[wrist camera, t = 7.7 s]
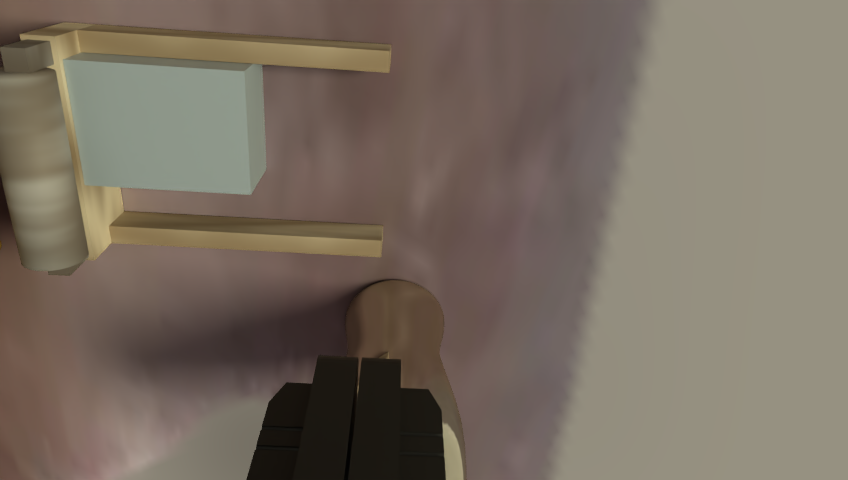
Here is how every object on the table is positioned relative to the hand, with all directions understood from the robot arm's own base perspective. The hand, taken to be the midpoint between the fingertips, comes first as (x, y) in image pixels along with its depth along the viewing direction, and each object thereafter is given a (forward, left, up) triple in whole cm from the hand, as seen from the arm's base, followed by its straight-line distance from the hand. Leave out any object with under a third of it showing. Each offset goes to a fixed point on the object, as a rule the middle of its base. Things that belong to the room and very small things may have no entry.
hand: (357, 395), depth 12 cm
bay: (+3, -8, -24) cm, 25 cm away
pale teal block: (+1, -11, -24) cm, 26 cm away
